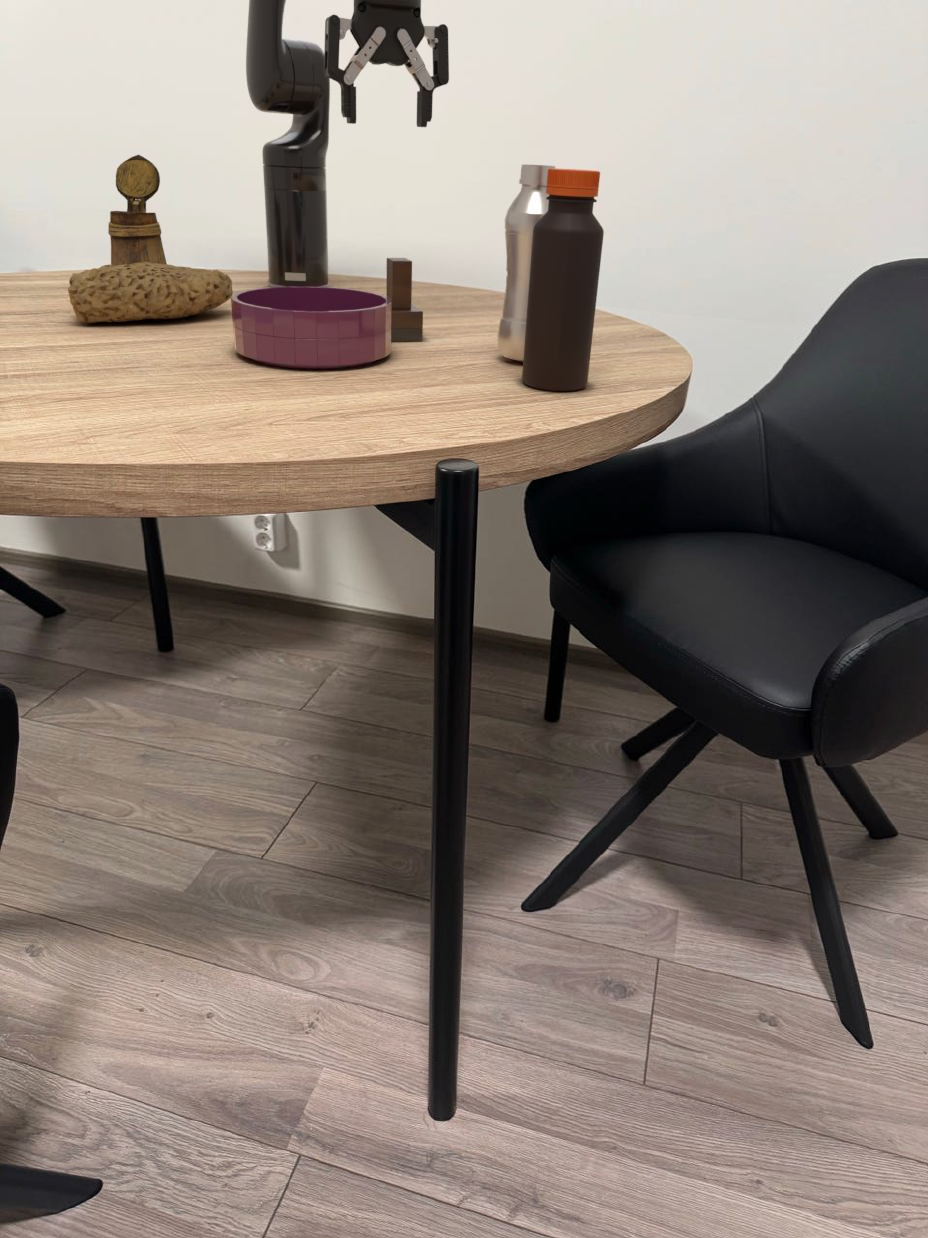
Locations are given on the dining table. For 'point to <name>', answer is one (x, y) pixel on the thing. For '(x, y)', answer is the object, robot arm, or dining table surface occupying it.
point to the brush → (403, 302)
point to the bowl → (311, 326)
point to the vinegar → (563, 283)
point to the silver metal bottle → (521, 257)
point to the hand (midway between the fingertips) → (386, 125)
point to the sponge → (146, 292)
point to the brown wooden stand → (136, 215)
